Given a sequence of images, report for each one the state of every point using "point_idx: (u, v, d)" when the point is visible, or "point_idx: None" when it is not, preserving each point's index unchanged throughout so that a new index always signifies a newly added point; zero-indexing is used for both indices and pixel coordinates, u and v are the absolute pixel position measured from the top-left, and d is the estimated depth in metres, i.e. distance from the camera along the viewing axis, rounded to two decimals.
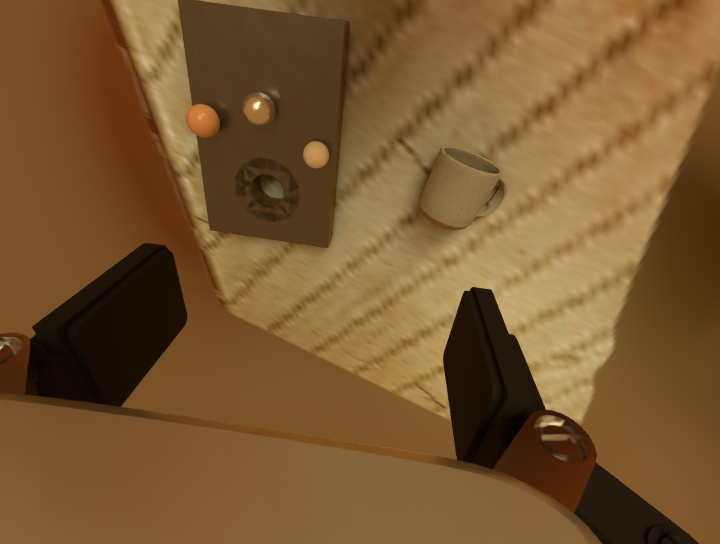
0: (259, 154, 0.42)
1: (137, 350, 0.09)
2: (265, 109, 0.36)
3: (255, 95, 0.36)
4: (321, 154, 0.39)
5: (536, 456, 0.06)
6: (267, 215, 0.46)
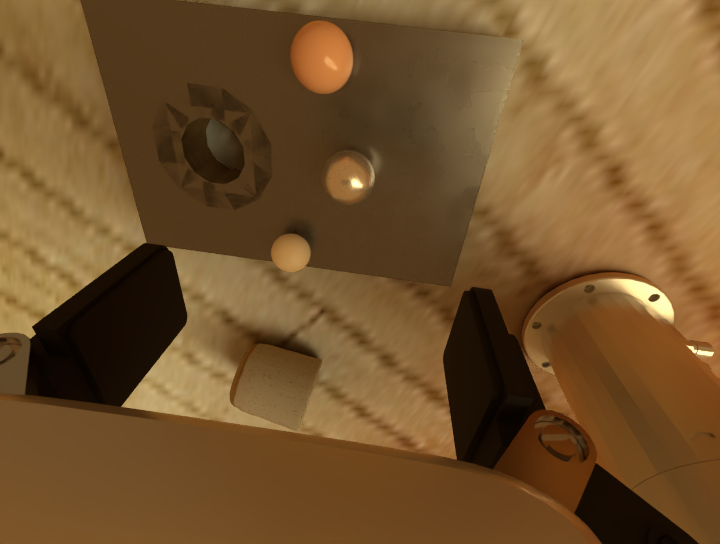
0: (276, 149, 0.24)
1: (137, 350, 0.09)
2: (349, 201, 0.22)
3: (370, 184, 0.22)
4: (292, 270, 0.26)
5: (536, 456, 0.06)
6: (167, 145, 0.25)
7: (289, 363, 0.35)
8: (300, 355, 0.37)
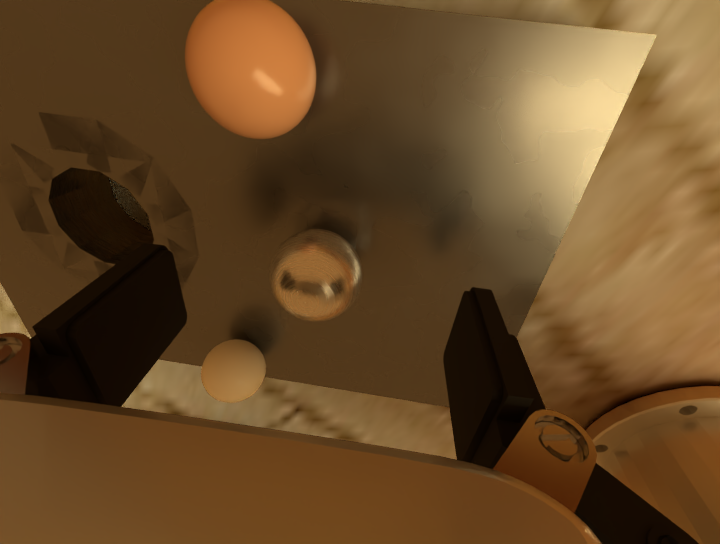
0: (201, 218, 0.14)
1: (137, 350, 0.09)
2: (317, 320, 0.13)
3: (353, 292, 0.12)
4: None
5: (536, 456, 0.06)
6: (28, 208, 0.15)
7: None
8: None
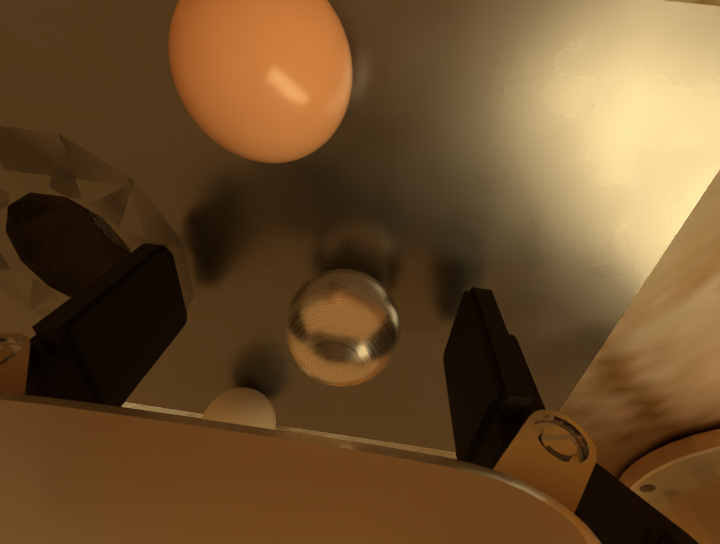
0: (196, 252, 0.12)
1: (137, 350, 0.09)
2: (346, 385, 0.10)
3: (391, 351, 0.10)
4: None
5: (536, 456, 0.06)
6: None
7: None
8: None
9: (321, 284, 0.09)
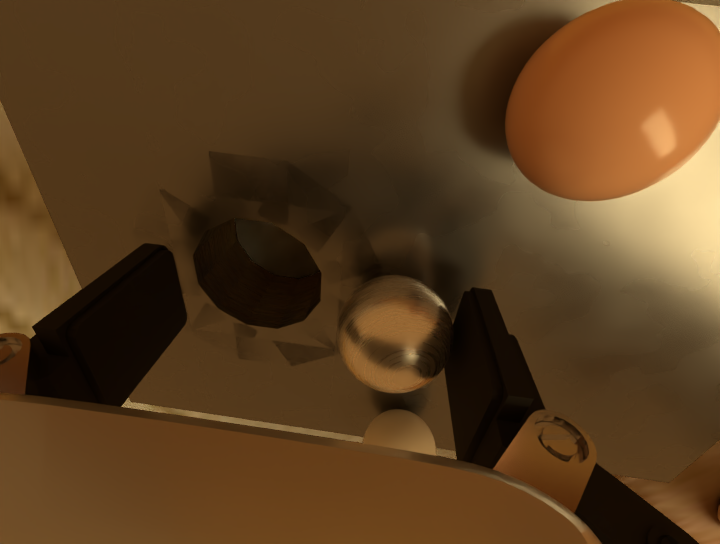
0: None
1: (137, 350, 0.09)
2: None
3: None
4: None
5: (536, 456, 0.06)
6: None
7: None
8: None
9: (423, 286, 0.10)
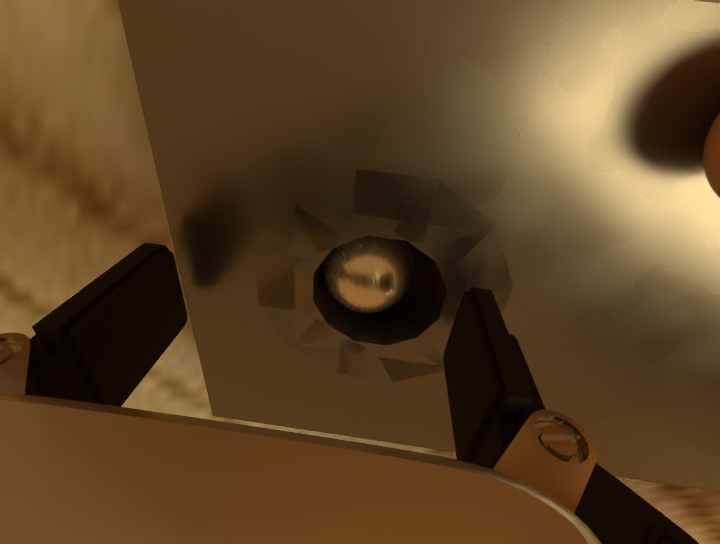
0: (521, 296, 0.11)
1: (137, 350, 0.09)
2: (342, 304, 0.13)
3: (371, 293, 0.12)
4: None
5: (536, 456, 0.06)
6: (280, 281, 0.12)
7: None
8: None
9: None
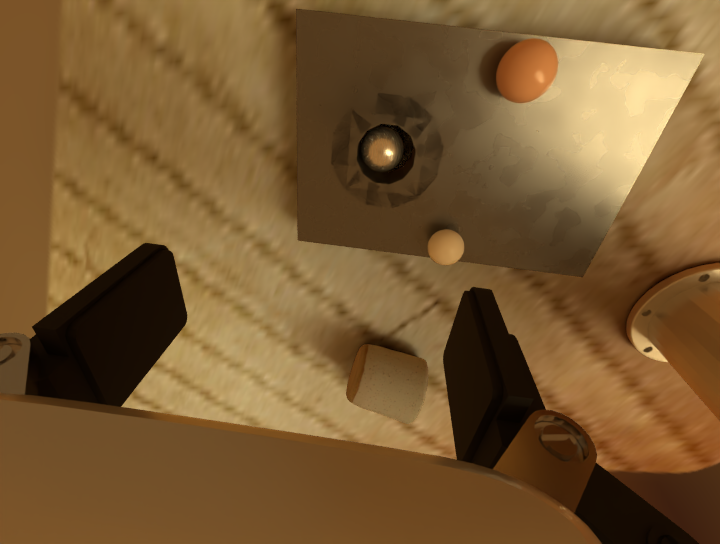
0: (447, 152, 0.26)
1: (137, 350, 0.09)
2: (371, 166, 0.28)
3: (386, 155, 0.27)
4: (450, 263, 0.28)
5: (536, 456, 0.06)
6: (342, 149, 0.27)
7: (402, 362, 0.39)
8: (406, 354, 0.41)
9: None
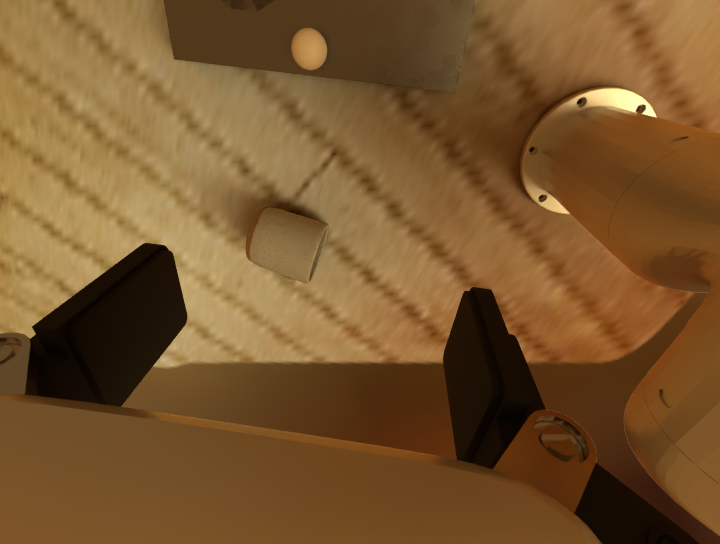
0: None
1: (137, 350, 0.09)
2: None
3: None
4: (311, 62, 0.28)
5: (536, 456, 0.06)
6: None
7: (299, 218, 0.39)
8: (309, 218, 0.41)
9: None
